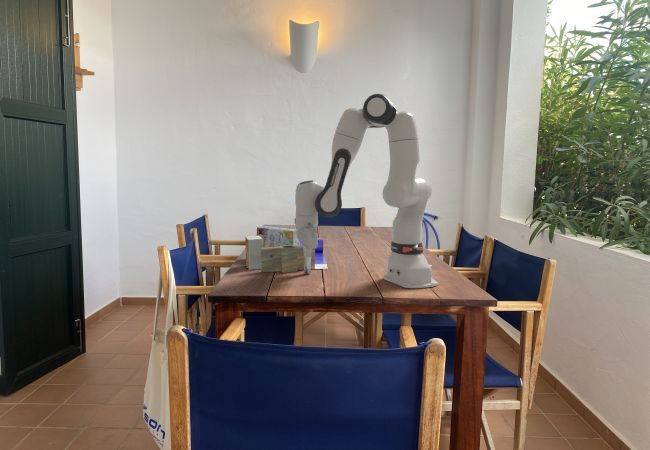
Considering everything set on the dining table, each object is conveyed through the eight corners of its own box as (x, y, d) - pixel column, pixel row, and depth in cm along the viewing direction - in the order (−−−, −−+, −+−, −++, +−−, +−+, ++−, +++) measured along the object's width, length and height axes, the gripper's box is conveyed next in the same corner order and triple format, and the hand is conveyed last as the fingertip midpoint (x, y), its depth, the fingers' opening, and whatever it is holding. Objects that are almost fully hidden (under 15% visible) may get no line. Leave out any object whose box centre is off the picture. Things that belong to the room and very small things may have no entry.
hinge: (316, 270, 200) (316, 246, 198) (262, 273, 194) (262, 249, 192) (312, 266, 206) (312, 243, 204) (260, 270, 200) (260, 246, 198)
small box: (245, 265, 208) (245, 236, 206) (260, 264, 210) (259, 235, 208) (248, 270, 200) (247, 239, 198) (263, 269, 202) (262, 238, 200)
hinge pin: (311, 273, 193) (311, 241, 191) (304, 274, 192) (304, 242, 190) (309, 271, 195) (309, 240, 193) (303, 272, 195) (302, 240, 193)
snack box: (300, 262, 214) (300, 229, 212) (293, 265, 210) (292, 230, 207) (264, 256, 226) (263, 225, 224) (256, 259, 221) (255, 226, 219)
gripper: (321, 224, 181) (321, 260, 183) (308, 218, 201) (308, 250, 203) (305, 225, 180) (305, 261, 182) (293, 218, 199) (294, 251, 201)
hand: (307, 255), depth 193 cm, fingers closed on hinge pin, 3 cm apart
